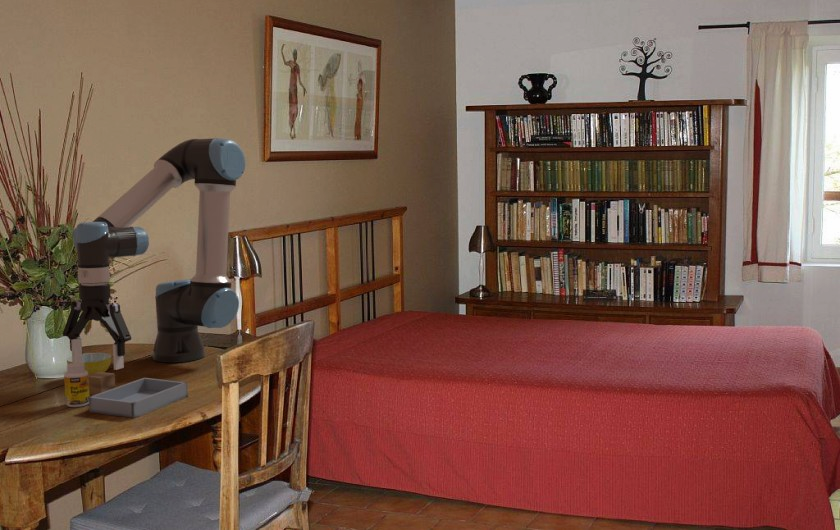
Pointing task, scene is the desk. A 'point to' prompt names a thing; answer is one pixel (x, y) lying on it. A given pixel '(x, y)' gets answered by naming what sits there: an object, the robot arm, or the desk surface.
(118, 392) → the tray
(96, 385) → the walnut cube
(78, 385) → the supplement bottle
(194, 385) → the desk surface
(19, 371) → the desk surface
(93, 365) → the bowl
